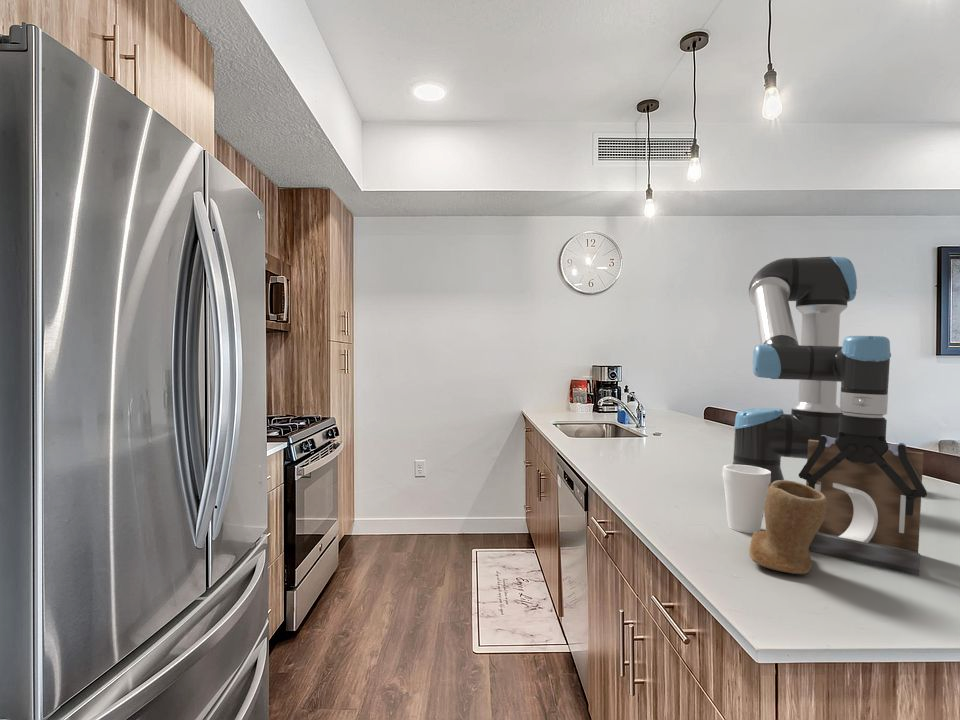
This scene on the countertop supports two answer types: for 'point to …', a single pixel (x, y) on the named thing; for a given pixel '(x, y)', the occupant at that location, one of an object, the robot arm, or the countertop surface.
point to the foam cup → (745, 496)
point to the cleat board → (886, 541)
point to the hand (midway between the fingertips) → (857, 523)
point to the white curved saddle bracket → (860, 515)
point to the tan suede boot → (788, 527)
